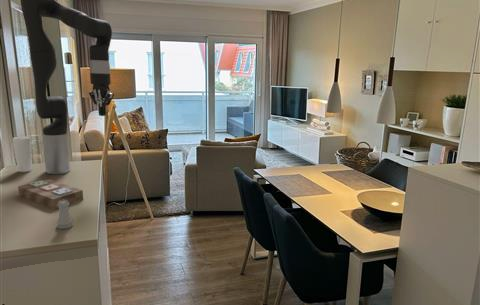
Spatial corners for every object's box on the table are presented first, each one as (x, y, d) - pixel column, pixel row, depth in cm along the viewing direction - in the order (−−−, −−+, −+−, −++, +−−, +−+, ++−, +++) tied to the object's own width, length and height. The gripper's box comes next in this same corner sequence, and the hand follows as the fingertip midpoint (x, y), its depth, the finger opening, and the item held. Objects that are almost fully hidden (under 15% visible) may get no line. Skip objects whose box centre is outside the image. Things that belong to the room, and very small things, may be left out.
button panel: (19, 195, 125) (18, 186, 125) (48, 187, 135) (47, 179, 134) (53, 209, 115) (52, 199, 114) (83, 199, 124) (82, 190, 124)
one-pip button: (41, 193, 124) (40, 187, 123) (52, 190, 127) (52, 183, 127) (48, 196, 122) (47, 189, 121) (60, 192, 125) (59, 186, 125)
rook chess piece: (60, 223, 105) (58, 198, 104) (75, 223, 106) (73, 198, 104) (53, 229, 101) (51, 203, 99) (69, 229, 102) (67, 204, 100)
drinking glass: (25, 173, 150) (22, 139, 147) (12, 172, 151) (8, 138, 148) (37, 169, 157) (34, 136, 153) (24, 168, 158) (21, 135, 154)
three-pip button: (29, 189, 127) (29, 183, 127) (41, 186, 131) (41, 180, 130) (36, 192, 125) (36, 185, 124) (48, 188, 129) (48, 182, 128)
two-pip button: (52, 197, 120) (52, 191, 120) (64, 194, 124) (63, 187, 123) (60, 200, 118) (59, 193, 118) (72, 197, 122) (71, 190, 121)
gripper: (119, 73, 138) (120, 116, 142) (97, 71, 144) (99, 113, 148) (103, 72, 132) (105, 118, 136) (81, 71, 138) (83, 114, 142)
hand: (102, 115), depth 142 cm, fingers closed
